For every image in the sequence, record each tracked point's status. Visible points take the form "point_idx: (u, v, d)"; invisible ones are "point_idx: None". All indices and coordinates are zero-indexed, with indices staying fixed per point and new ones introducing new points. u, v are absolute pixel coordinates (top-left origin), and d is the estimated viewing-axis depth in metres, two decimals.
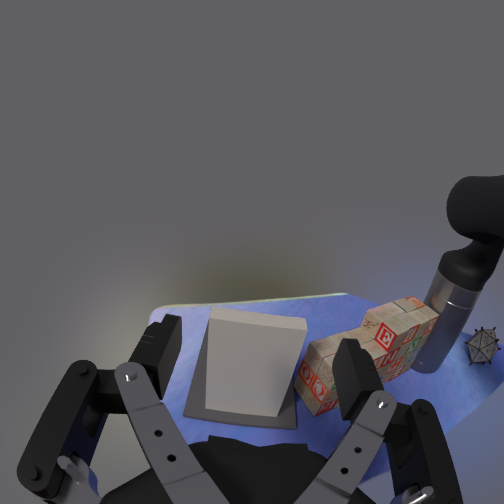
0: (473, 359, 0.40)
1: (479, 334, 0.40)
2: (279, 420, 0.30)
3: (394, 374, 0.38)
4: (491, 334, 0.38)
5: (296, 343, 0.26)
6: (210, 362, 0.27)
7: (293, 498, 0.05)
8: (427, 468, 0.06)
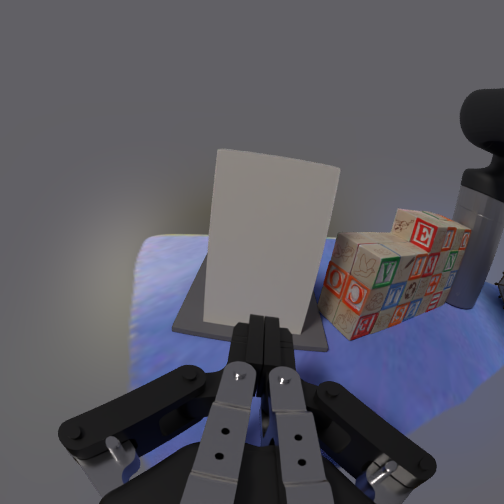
0: None
1: None
2: (304, 338, 0.25)
3: (432, 302, 0.32)
4: None
5: (327, 190, 0.20)
6: (214, 227, 0.22)
7: None
8: (374, 447, 0.07)
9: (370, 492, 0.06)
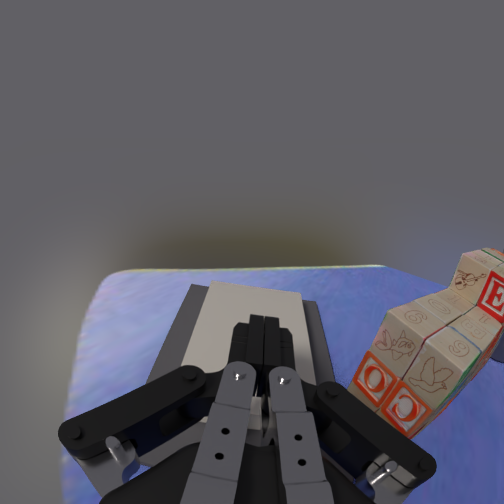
0: None
1: None
2: None
3: (479, 368, 0.19)
4: None
5: (295, 301, 0.26)
6: (204, 315, 0.23)
7: None
8: (375, 447, 0.07)
9: (370, 492, 0.06)
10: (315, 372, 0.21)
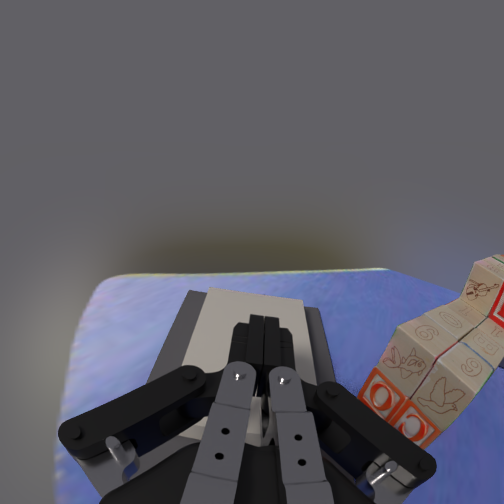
0: None
1: None
2: None
3: None
4: None
5: (297, 309, 0.25)
6: (201, 325, 0.21)
7: None
8: (375, 447, 0.07)
9: (370, 492, 0.06)
10: (318, 384, 0.19)
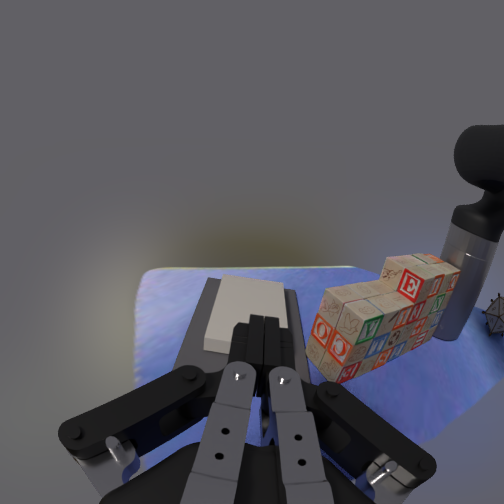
0: (492, 329, 0.36)
1: (496, 301, 0.36)
2: None
3: (417, 341, 0.33)
4: None
5: (279, 288, 0.40)
6: (220, 294, 0.37)
7: None
8: (374, 447, 0.07)
9: (370, 492, 0.06)
10: (290, 331, 0.35)
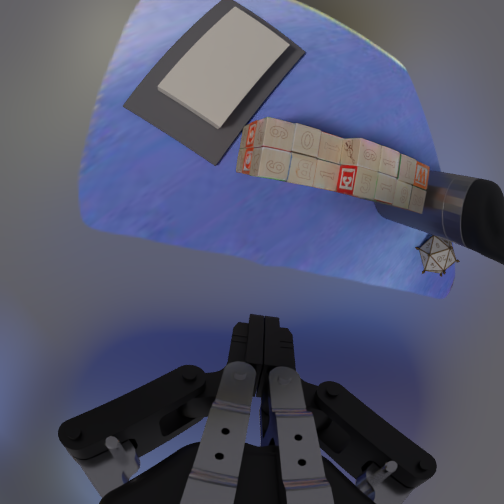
0: (421, 249, 0.47)
1: (444, 246, 0.42)
2: (206, 149, 0.32)
3: None
4: (449, 261, 0.42)
5: (278, 49, 0.28)
6: (208, 34, 0.25)
7: None
8: (375, 447, 0.07)
9: (371, 492, 0.06)
10: (251, 97, 0.32)
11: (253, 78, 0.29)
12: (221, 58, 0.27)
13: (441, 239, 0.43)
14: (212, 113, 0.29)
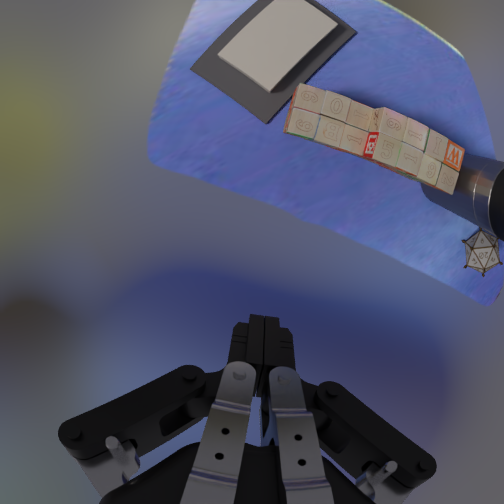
0: (466, 243, 0.40)
1: (488, 243, 0.34)
2: (258, 109, 0.35)
3: (386, 168, 0.36)
4: (491, 260, 0.35)
5: (326, 27, 0.28)
6: (262, 13, 0.28)
7: None
8: (375, 447, 0.07)
9: (370, 492, 0.06)
10: (302, 68, 0.33)
11: (302, 51, 0.30)
12: (273, 33, 0.29)
13: (487, 236, 0.36)
14: (263, 79, 0.32)
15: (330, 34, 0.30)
